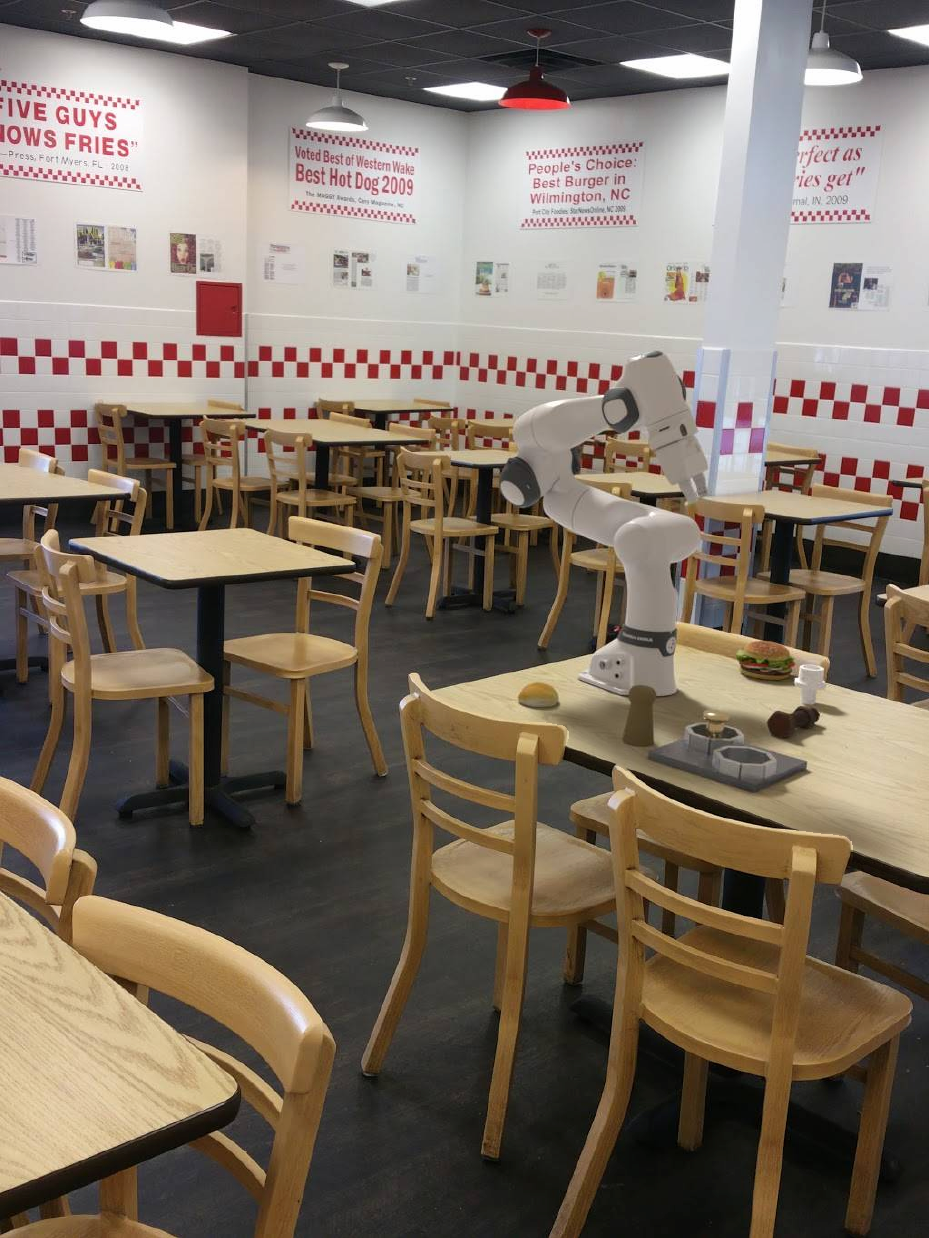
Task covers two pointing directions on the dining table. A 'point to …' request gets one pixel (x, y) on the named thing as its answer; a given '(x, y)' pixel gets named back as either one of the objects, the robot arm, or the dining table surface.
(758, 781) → the bolt plate
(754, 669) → the food
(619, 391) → the robot arm
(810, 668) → the pipe fitting
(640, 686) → the cork
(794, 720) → the bolt
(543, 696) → the bread roll
